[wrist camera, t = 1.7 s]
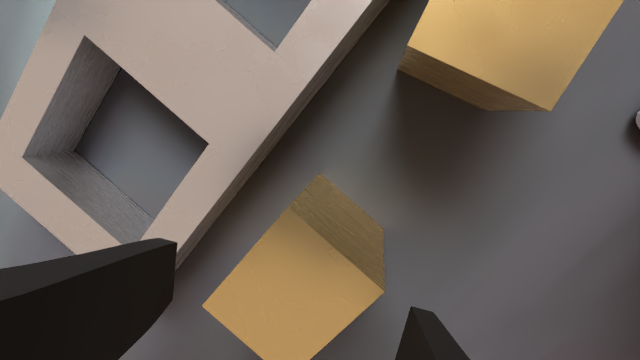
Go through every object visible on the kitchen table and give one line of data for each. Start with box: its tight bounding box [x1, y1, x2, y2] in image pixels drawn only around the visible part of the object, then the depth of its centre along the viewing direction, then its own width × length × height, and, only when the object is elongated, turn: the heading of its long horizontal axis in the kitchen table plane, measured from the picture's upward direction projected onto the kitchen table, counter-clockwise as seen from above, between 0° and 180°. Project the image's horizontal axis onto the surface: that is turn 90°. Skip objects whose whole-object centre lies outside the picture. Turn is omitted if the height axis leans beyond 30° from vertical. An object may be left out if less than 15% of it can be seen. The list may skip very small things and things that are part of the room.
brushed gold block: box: [202, 173, 385, 360], centre depth 12 cm, size 4×4×5 cm
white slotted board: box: [0, 0, 390, 271], centre depth 12 cm, size 9×20×2 cm, turn 140°
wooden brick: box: [398, 0, 623, 111], centre depth 9 cm, size 4×4×5 cm
